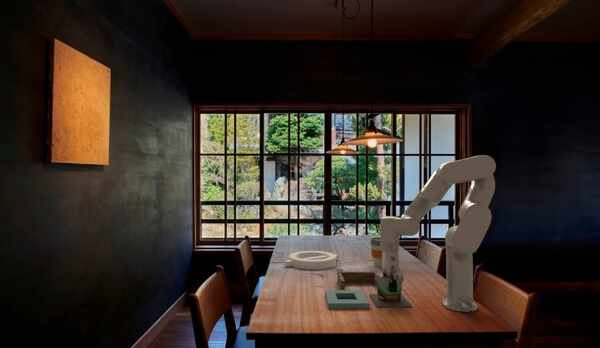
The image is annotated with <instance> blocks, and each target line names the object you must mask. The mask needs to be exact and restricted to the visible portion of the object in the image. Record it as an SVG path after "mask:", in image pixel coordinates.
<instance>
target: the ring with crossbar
mask: <svg viewBox="0 0 600 348" xmlns="http://www.w3.org/2000/svg"><path fill="white" fill-rule="evenodd" d="M337 260H340V254H337V253H332V252H329V251H323V250H303V251H296V252H292V253H290V254H289V255H288V259H287V260H284V262H283V263H284V264H283V265H284V266H286V267H293V268H297V269H300V270H301V269H302V270H325V269H330V268H333V267H335V266H336V265H337Z"/></svg>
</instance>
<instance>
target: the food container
mask: <svg viewBox="0 0 600 348" xmlns="http://www.w3.org/2000/svg"><path fill="white" fill-rule="evenodd" d="M391 279H392V277H391ZM375 280H376V281H377V286H376V291H377V294H378V299H379V300H381V301H384V302H389V303H395V302H399V301H400V300H401V294H402V290H403V282H404V281H405V278H404V274H402V273H400V275H399V276H397V292H389V282H390V280H389V276H384V277H383V276H381V275H380V276H377V275H376V277H375Z"/></svg>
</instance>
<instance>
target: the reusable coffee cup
mask: <svg viewBox="0 0 600 348" xmlns="http://www.w3.org/2000/svg"><path fill="white" fill-rule="evenodd" d="M370 246H371V248H370V250H371V257H372V263H373V266H375V267H378V268H382V250H380V237H372V238H370Z"/></svg>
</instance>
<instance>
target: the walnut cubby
mask: <svg viewBox="0 0 600 348" xmlns="http://www.w3.org/2000/svg"><path fill="white" fill-rule="evenodd" d="M336 274H337V278H336V279H337V280H336V281H337V285H338V287H339V290H346V284H350V283H351V284H360V283H361V284H365V283H366V284H374V286H376V287H377V281H376V280H375V277H376V275H377V276H380V277H381V275H380V274H379V272H377V271H337V273H336Z"/></svg>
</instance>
